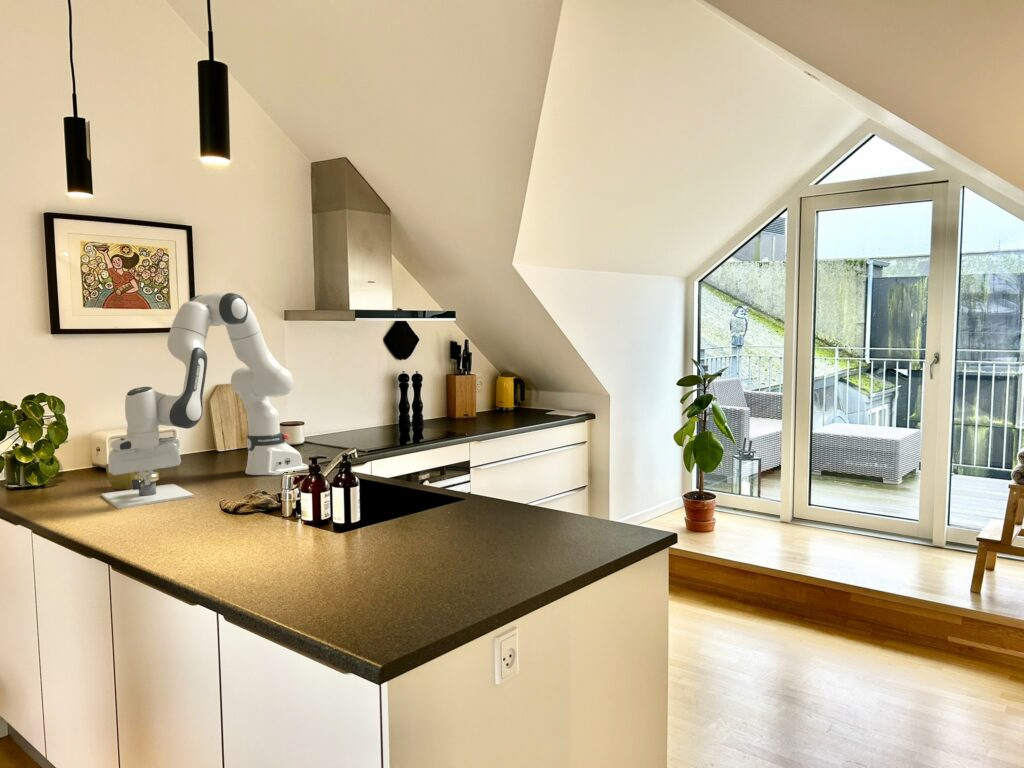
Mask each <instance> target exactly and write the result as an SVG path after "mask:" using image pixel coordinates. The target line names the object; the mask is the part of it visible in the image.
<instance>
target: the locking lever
mask: <svg viewBox="0 0 1024 768" xmlns="http://www.w3.org/2000/svg"><path fill="white" fill-rule="evenodd" d="M145 473H146V474H144V476H145V477H147V475H148V473H147V471H145ZM159 475H160V474H159V472H157V471H153V475H152V477H151V478H150V482H154V481H156V482H157V481H159V480H160V476H159ZM143 485H144V481H143V478H142V477H141V476H140V475H139V473H138V474H135V475H134V479H133V480H132V488H131V490H138V489H142V486H143Z"/></svg>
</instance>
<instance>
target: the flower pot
mask: <svg viewBox="0 0 1024 768" xmlns="http://www.w3.org/2000/svg"><path fill="white" fill-rule="evenodd" d="M104 465H105V470H106V476H107V479H108V480H107V481H109V483H110V486H112V487H113V489H114V490H132V480H133V479H134V475H135V474H138V473H139V472H133V473H126V474H119V475H112V474H111V473H110V472H109V471H108V463H106V464H104Z"/></svg>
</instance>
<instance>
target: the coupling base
mask: <svg viewBox="0 0 1024 768" xmlns="http://www.w3.org/2000/svg"><path fill="white" fill-rule="evenodd" d="M156 482H157V481H154V482H150V484H148V485H143V486H142V489H138V490H132V489H124V490H120V491H119V490H117V491H111V492H105V493H101V497H102V498H104V499H105V500H106V501H107V502H109V503H110V504H111V505H113V506H114V507H116V508H117V510H118V509H126V508H133V507H139V506H145V505H146V506H147V505H152V504H153V505H154V504H158V503H165V502H166V503H167V502H172V500H173V501H179V500H185V498H186V499H192V498H195V494H194V493H192V492H190V491H188V490H186V489H184V488H183V487H181V486H179V485H177V484H175V483H170V484H169V483H168V484H163V485H162V484H160V485H157V484H156ZM191 497H192V498H191Z"/></svg>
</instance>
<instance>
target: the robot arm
mask: <svg viewBox="0 0 1024 768" xmlns="http://www.w3.org/2000/svg"><path fill="white" fill-rule="evenodd" d="M211 326H213V327H218V326H219V327H221V326H225V327H226V330H227V331H226V332H227V335H228V337H229V340H230V344H231V345H232V349H233V352H234V354H235V357H236V358H237V359H238V360H239V361H240V362H242V363H243V364H244V365H246V366H243V367H240V368H237V369H235V370H234V371H233V372H232V375H231V376H230V377H231V379H230V384H231V388H232V390H233V391H234V392H235V393H236V394H237V395H238V396H239V398H240V399H241V401H242V403H243V406H244V409H245V412H246V417H247V431H248V434H247V435H246V436H247V437H246V438H247V439H246V446H247V450H248V451H247V453H248V455H247V464H246V469H245V471H244V472H245V474H246V475H249V476H250V475H251V476H278V475H284V474H283V473H284V472H290V473H293V471H295V472H301V471H306V470H308V469H309V464H306V463H304V462H303V459H302V455H301V453H300V452H299V451H298V450H297V449H296V448H294V447H292V446H291V445H290V444H288V443H287V442H286V441H287V440H289V439H290V438H291V436H290V435H289V434H287V433H282V432H281V430H280V412H279V411H278V410H277V408H275V407H274V406H273V405H272V403H271V401H270V398H279V397H283V396H286V395H289V394H290V393H291V392H292V390H293V388H294V386H295V385H294V384H295V381H294V376H293V374H292V372H291V371H290V370H288V369H287V368H285V367H283V366H282V365H281V364H280V363H279V361H278V360H277V359H276V358H275V356H274V355H273V354H272V353H271V351H270V349H269V347H268V344H267V342H266V341H265V338H264V337H265V336H264V335H263V332H262V328H261V326H260V323H259V321H258V319H257V316H256V314H255V313H254V311H253V309H252V308H251V306H250V305H249V304H248V303H247V301H246V299H244V297H242V295H240V294H237V293H235V292H234V293H233V292H227V293H224V292H214V293H208V294H198V295H195V296H194V297H192V298H190V300H188V301H186V302H184V303H182V304H181V306H180V307H179V309H178V311H177V313H176V314H175V317H174V319H173V321H172V324H171V328H170V330H169V333H168V337H167V342H166V343H167V345H166V346H167V349H168V351H169V353H170V354H171V355H172V356H173V357H174V358H176V359H177V360H179V361H180V362H182V363H183V364H184V366H185V376H184V381H183V383H184V384H183V388H182V391H181V394H179V395H170V394H168V395H167V394H165V393H161V392H159V391H157V390H155V389H154V388H153V387H151V386H141V387H136V388H135V387H134V388H132V389H130V390H129V391H127V392H126V396H125V399H124V411H125V420H126V422H127V428H126V435H125V436H122V437H120V438H118V439H115V440H112V441H111V442H110V448H111V449H112V450H110V451H109V453H108V457H107V458H108V462H107V464H108V471H109V472H110V473H111V474H112V475H119V474H126V473H133V472H139V475H140V476H141V477H142V478H143V481H144V485H148V484H150V478H151V477H152V475H153V472H154V470H158V469H164V468H173V467H178V466H180V464H181V463H182V460H181V454H180V440H179V439H178V438H177V437H174V436H169V437H160V431H159V426H166V427H176V428H182V429H192V428H194V427H195V426H197V424H198V423H199V422H200V420H201V418H202V416H203V411H204V410H203V406H204V405H203V396H204V389H205V384H206V383H205V382H206V375H207V371H208V369H207V368H208V356H207V353H206V350H205V345H206V341H207V337H208V333H209V328H210V327H211ZM285 440H286V441H285ZM145 472H147V473H148V475H147V477H145V476H144V474H146V473H145Z"/></svg>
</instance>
